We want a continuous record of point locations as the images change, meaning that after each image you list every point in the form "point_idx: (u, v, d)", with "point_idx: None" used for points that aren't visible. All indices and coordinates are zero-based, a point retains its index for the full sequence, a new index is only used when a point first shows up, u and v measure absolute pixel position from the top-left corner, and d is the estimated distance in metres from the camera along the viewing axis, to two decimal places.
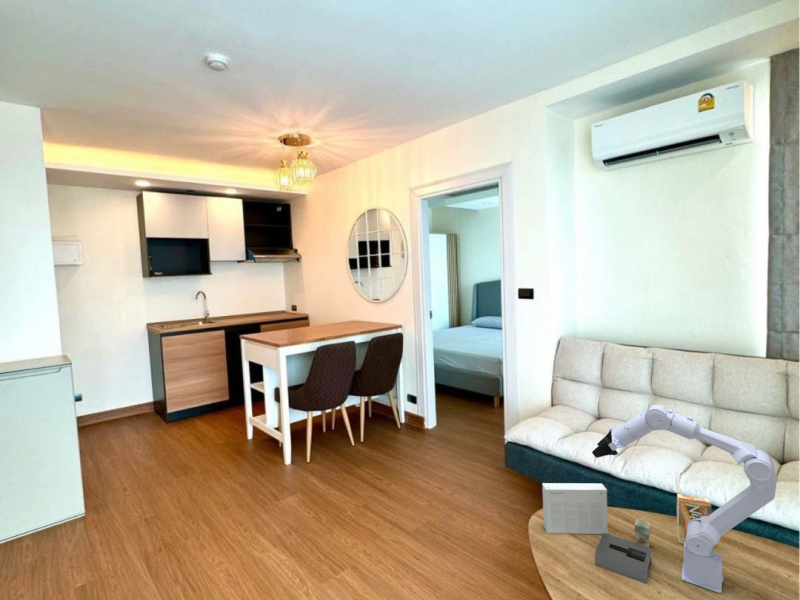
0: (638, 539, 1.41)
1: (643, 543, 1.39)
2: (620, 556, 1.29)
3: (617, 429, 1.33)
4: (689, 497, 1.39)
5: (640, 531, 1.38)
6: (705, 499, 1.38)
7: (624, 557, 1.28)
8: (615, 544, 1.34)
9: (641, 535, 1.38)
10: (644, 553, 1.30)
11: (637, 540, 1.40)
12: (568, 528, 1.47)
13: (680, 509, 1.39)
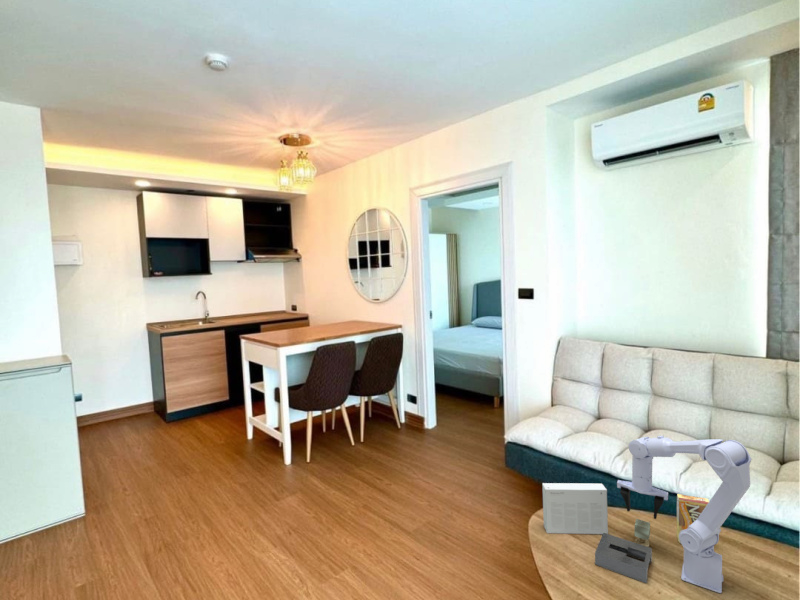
0: (638, 539, 1.41)
1: (643, 543, 1.39)
2: (620, 556, 1.29)
3: None
4: (689, 497, 1.39)
5: (640, 531, 1.38)
6: (705, 499, 1.38)
7: (624, 557, 1.28)
8: (615, 544, 1.34)
9: (641, 535, 1.38)
10: (644, 553, 1.30)
11: (637, 540, 1.40)
12: (568, 528, 1.47)
13: (680, 509, 1.39)
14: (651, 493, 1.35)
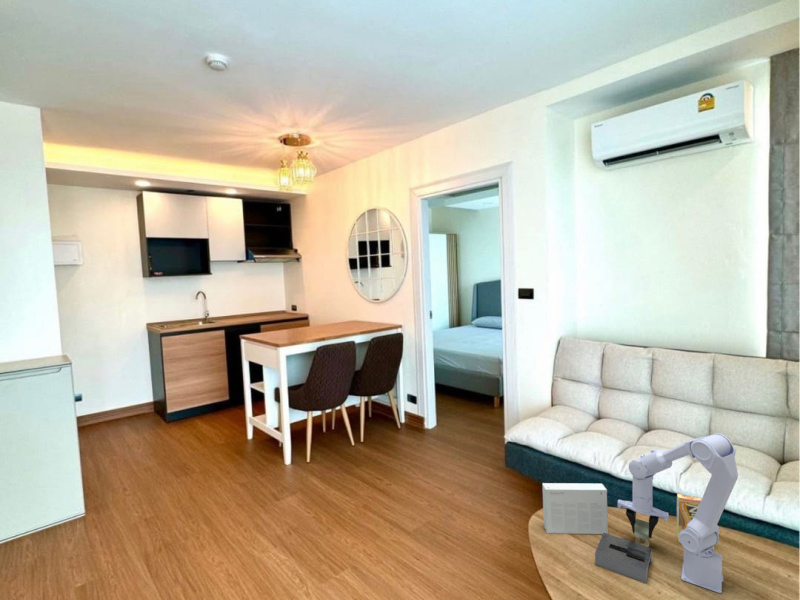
0: (638, 539, 1.41)
1: (643, 543, 1.39)
2: (620, 556, 1.29)
3: None
4: (689, 497, 1.39)
5: (640, 531, 1.38)
6: None
7: (624, 557, 1.28)
8: (615, 544, 1.34)
9: (641, 535, 1.38)
10: (644, 553, 1.30)
11: (637, 540, 1.40)
12: (568, 528, 1.47)
13: (680, 509, 1.39)
14: (651, 514, 1.35)
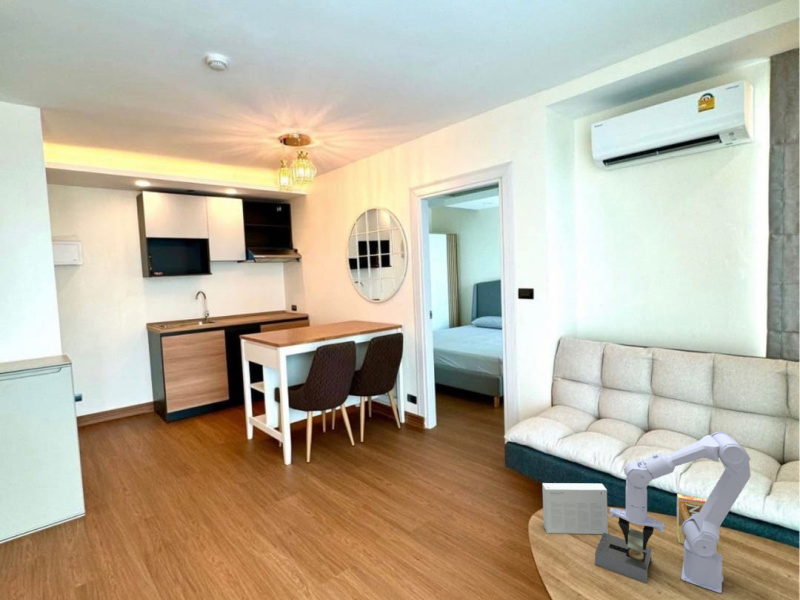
0: (632, 550, 1.31)
1: (637, 555, 1.28)
2: (620, 556, 1.29)
3: None
4: (689, 497, 1.39)
5: (634, 542, 1.28)
6: (705, 499, 1.38)
7: (624, 557, 1.28)
8: (615, 544, 1.34)
9: (635, 546, 1.28)
10: (644, 553, 1.30)
11: (630, 552, 1.30)
12: (568, 528, 1.47)
13: (680, 509, 1.39)
14: (646, 524, 1.25)
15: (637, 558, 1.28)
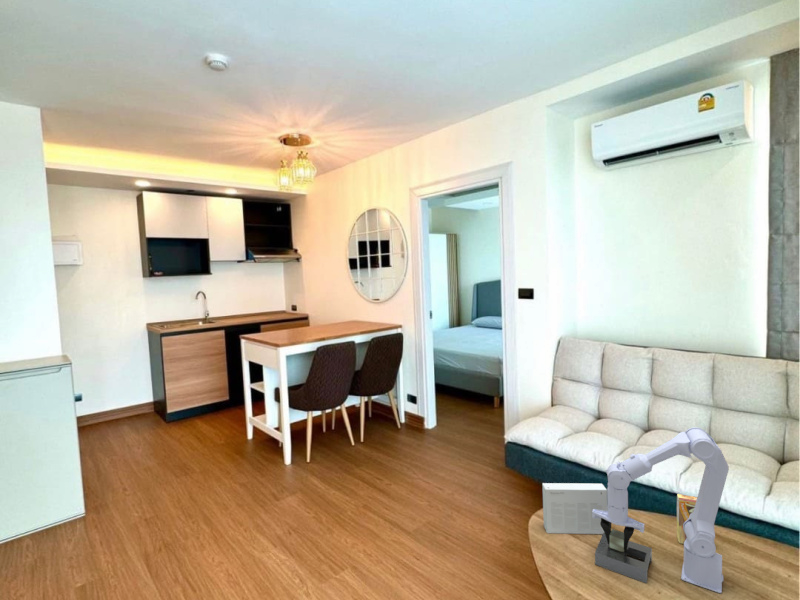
0: None
1: None
2: (620, 556, 1.29)
3: None
4: (689, 497, 1.39)
5: (615, 542, 1.31)
6: None
7: (624, 557, 1.28)
8: None
9: (616, 546, 1.31)
10: (644, 553, 1.30)
11: None
12: (568, 528, 1.47)
13: (680, 509, 1.39)
14: (626, 525, 1.28)
15: None
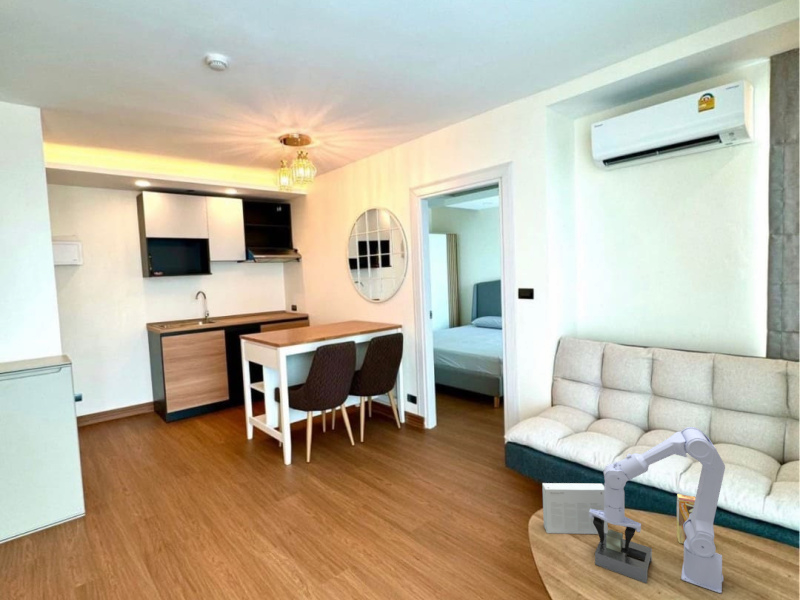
0: None
1: None
2: (620, 556, 1.29)
3: None
4: (689, 497, 1.39)
5: (612, 542, 1.32)
6: None
7: (624, 557, 1.28)
8: None
9: (613, 547, 1.32)
10: (644, 553, 1.30)
11: None
12: (568, 528, 1.47)
13: (680, 509, 1.39)
14: (623, 524, 1.29)
15: None
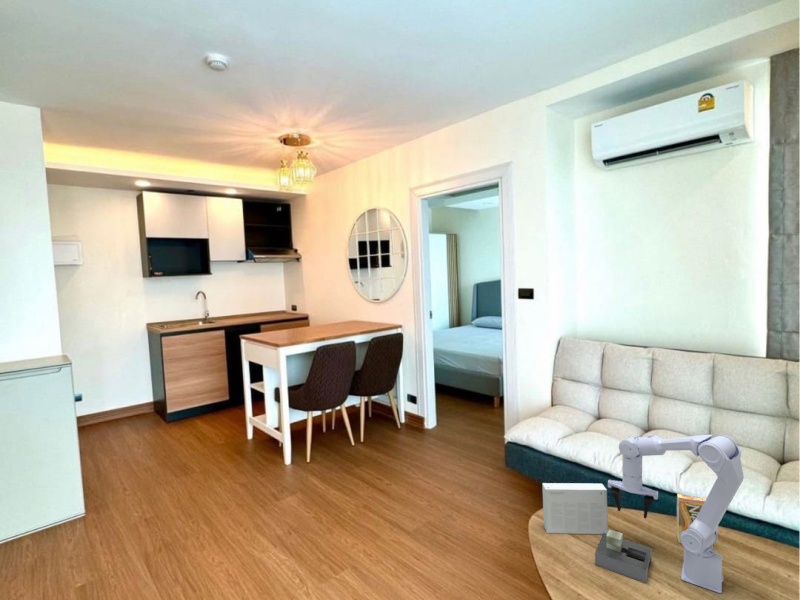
0: None
1: None
2: (620, 556, 1.29)
3: None
4: (689, 497, 1.39)
5: (612, 542, 1.32)
6: (705, 499, 1.38)
7: (624, 557, 1.28)
8: None
9: (613, 547, 1.32)
10: (644, 553, 1.30)
11: None
12: (568, 528, 1.47)
13: (680, 509, 1.39)
14: (641, 492, 1.36)
15: None
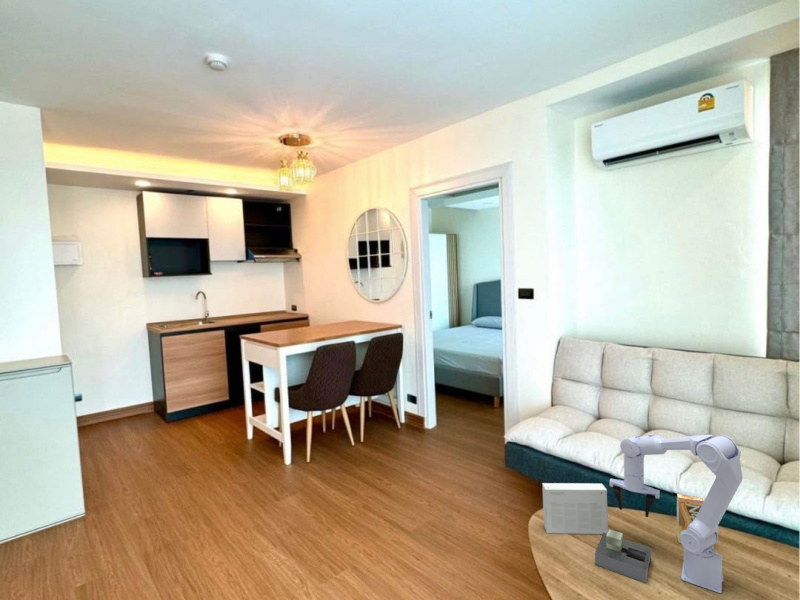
0: None
1: None
2: (620, 556, 1.29)
3: None
4: (689, 497, 1.39)
5: (612, 542, 1.32)
6: None
7: (624, 557, 1.28)
8: None
9: (613, 547, 1.32)
10: (644, 553, 1.30)
11: None
12: (568, 528, 1.47)
13: (680, 509, 1.39)
14: (642, 491, 1.37)
15: None
